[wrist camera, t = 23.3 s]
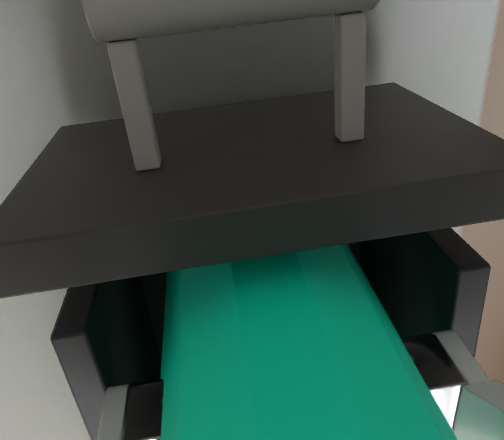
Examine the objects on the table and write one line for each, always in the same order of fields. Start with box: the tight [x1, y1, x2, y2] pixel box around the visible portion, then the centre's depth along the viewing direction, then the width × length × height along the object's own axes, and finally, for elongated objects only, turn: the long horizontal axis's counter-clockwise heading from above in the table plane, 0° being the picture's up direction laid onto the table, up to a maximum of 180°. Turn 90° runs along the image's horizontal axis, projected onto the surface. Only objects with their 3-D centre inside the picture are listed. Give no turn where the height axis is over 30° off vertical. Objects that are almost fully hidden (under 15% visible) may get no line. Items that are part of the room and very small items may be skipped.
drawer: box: [0, 0, 504, 440], centre depth 14 cm, size 17×11×8 cm
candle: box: [160, 244, 458, 440], centre depth 11 cm, size 6×6×12 cm
